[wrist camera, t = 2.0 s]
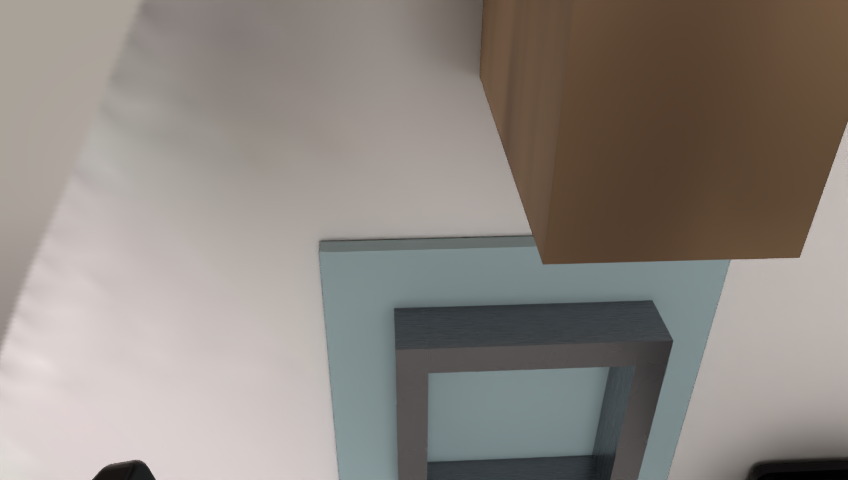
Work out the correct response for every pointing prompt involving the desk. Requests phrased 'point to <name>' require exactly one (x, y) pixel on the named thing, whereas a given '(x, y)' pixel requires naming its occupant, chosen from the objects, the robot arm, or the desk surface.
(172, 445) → the desk surface
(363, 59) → the desk surface
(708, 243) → the walnut peg
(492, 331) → the socket holder
